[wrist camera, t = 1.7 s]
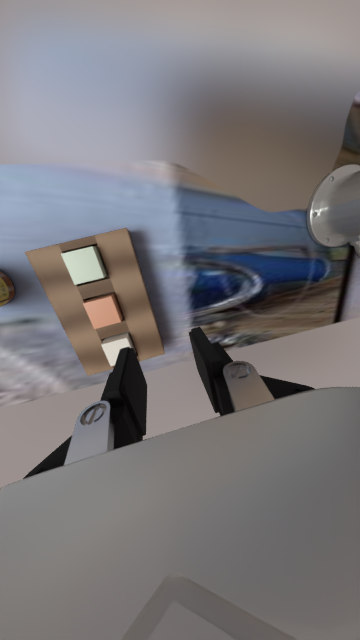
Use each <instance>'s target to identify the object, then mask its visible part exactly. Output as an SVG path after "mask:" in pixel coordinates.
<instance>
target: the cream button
mask: <svg viewBox="0 0 360 640" xmlns="http://www.w3.org/2000/svg"><path fill="white" fill-rule="evenodd" d="M101 346H102V348H103V350H104V352H105V355H106V357H107V359H108V362H109V364H110V366H114V365H115V363H116V360H117V357H118V354H119V351H120V349H122V348H125V347H130V348H134V351H135V353H136V348H135V346H134V343H133V340H132V337H131V335H130V332H125V333H121V334H118V335H114V336H110V337H107V338H105V339H104V340H103V342H102V344H101Z"/></svg>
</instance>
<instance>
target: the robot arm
mask: <svg viewBox="0 0 360 640" xmlns="http://www.w3.org/2000/svg"><path fill="white" fill-rule="evenodd" d="M307 226H308V230H309V233H310V235H311V237H312V238H313V240H314V241H315V242H317V243H318V244H320V245H322V246H326V247H336V246H341V245H344V244H346V243H348V242H349V243H350V245H352V246H354V247H355V251H356V254H357V256H358V258H360V166H359V165H353V164H350V165H345V166H342V167H340V168H338V169H336V170H334V171H332V172H331V173H329V174H328V175H327V176H325V177H324V178H323V179H322V180H321V182H320V183H319V184H318V185H317V187H316V189H315V190H314V192H313V194H312V196H311V199H310V201H309V205H308V209H307ZM189 336H190V340H191V344H192V349H193V353H194V357H195V361H196V365H197V369H198V372H199V375H200V377H201V379H202V382H203V384H204V387H205V389H206V391H207V394H208V396H209V399H210V401H211V404H212V406H213V409H214V411H215V413H217V412H219V413H220V416H219V417H216V418H213V419H210V420H206V421H203V422H200V423H197V424H193V425H190V426H187V427H184V428H181V429H177V430H174V431H171V432H168V433H165V434H161V435H158V436H155V437H152V438H149V439H145V440H142V438H143V436H144V435H146V410H147V409H146V408H147V384H146V381H145V378H144V375H143V372H142V369H141V367H140V364H139V361H138V359H137V356H136V353H135V351H134V348H130V347H125V348H122V349H120V351H119V354H118V357H117V360H116V363H115V366H114V369H113V372H111V373H110V374H109V377H108V380H107V383H106V386H105V389H104V392H103V394H102V397H101V400H100V401H98V402H95V403H93V404H91V405H90V406H88V407H87V408H85V409H84V410H83V411H82V412H81V414H80V415H79V416H78V419H77V421H76V424H75V428H74V432H73V435H72V436H71V437H69V438H68V439H67V440H66V441H65V442H64V443H63V444H61V445H60V446H59V447H58V448H57V449H56V450H55V451H54V452H52V453H51V454H50V455H49V456H48V457H47V458H46V459H44V460H43V461H42V462H41V463H40V464H38V465H37V466H36V467H35V468H34V469H33V470H32V471H31V472H29V473H28V474H27V475H26V476H25V477H24V478H23V479H22V480H19V481H17V482H14V483H11V484H8V485H6V486H4V487H1V488H0V640H360V387H331V388H320V389H314V388H312V387H309V386H306V385H301V384H297V383H292V382H288V381H283V380H279V379H274V378H269V377H264V376H260V375H259V374H258V373H257V371H256V369H255V368H254V366H252V365H251V364H249V363H248V362H244V361H234V362H233V360H232V359H231V358H230V357H229V355H228V354H227V353H226V351H225V350H224V349H223V348H222V346H221V345H220V344H219V343H218V342H216V343H213V344H211V343H210V341H209V340H208V338H207V337H206V335H205V334H204V332H203V331H202V329H201V328H200V327H197V328H194V329H191V332H189Z"/></svg>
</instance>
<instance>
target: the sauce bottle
mask: <svg viewBox="0 0 360 640" xmlns="http://www.w3.org/2000/svg"><path fill="white" fill-rule="evenodd" d="M14 293H15V290H14V287H13V283H12V282H11V280H10V279H9V278H8V276H6V275H5V274H4V273H3V272H0V307H1V306H3V305H5V304H6V303H8V302H9V301H10V300H11V299H12V298H13V297H14Z"/></svg>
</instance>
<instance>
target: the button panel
mask: <svg viewBox="0 0 360 640" xmlns="http://www.w3.org/2000/svg"><path fill="white" fill-rule="evenodd" d="M92 246H94V247H98V248H99V250H100V253H101V256H102V258H103V261H104V264H105V267H106V269H107V272H108V276H106V277H104V278H100V279H96V280H92V281H88V282H84V283H80V284H76V285H74V282H73V280H72V278H71V276H70V273H69V271H68V269H67V267H66V264H65V262H64V260H63V258H62V255H61V254H62V253H67V252H71V251H75V250H79V249H83V248H87V247H92ZM25 253H26V255H27V257H28V259H29V261H30V263H31V265H32V267H33V269H34V271H35V273H36V275H37V277H38V279H39V281H40V283H41V285H42V287H43V289H44V291H45V293H46V295H47V297H48V299H49V301H50V303H51V304H52V306H53V308H54V310H55V312H56V314H57V316H58V318H59V320H60V322H61V324H62V326H63V328H64V330H65V332H66V334H67V336H68V338H69V340H70V342H71V344H72V346H73V348H74V350H75V352H76V354H77V356H78V358H79V360H80V361H81V363H82V365H83V367H84V369H85V371H86V373H87V375H88V376H89V375H92V374H96V373H99V372H103V371H106V370H110V369H113V368H114V366H115V365H114V366H110V364H109V362H108V359H107V357H106V355H105V352H104V350H103V348H102V346H101V344H102V342H103V340H104V339H105V338H107V337H110V336H114V335H118V334H121V333H125V332H130V335H131V337H132V340H133V343H134V346H135V348H136V356H137V359H138V361H142V360H145V359H149V358H152V357H156V356H159V355H163V354H165V353H164V346H163V342H162V338H161V335H160V332H159V328H158V325H157V322H156V318H155V315H154V312H153V308H152V305H151V302H150V298H149V295H148V292H147V288H146V285H145V282H144V278H143V275H142V272H141V268H140V265H139V262H138V258H137V255H136V252H135V248H134V245H133V242H132V238H131V235H130V232H129V230H128V229H127V228H124V229H120V230H115V231H111V232H107V233H103V234H98V235H94V236H90V237H86V238H82V239H77V240H73V241H69V242H65V243H60V244H56V245H52V246H48V247H44V248H39V249H35V250H31V251H27V252H25ZM111 293H115V294H116V297H117V299H118V302H119V305H120V307H121V310H122V313H123V319H122V321H121V322H119V323H116V324H112V325H108V326H104V327H101V328H97V329H94V328H93V325H92V323H91V321H90V319H89V316H88V314H87V312H86V310H85V307H84V305H83V303H84V302H86V301H87V300H89V299H91V298H95V297H99V296H103V295H107V294H111Z"/></svg>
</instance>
